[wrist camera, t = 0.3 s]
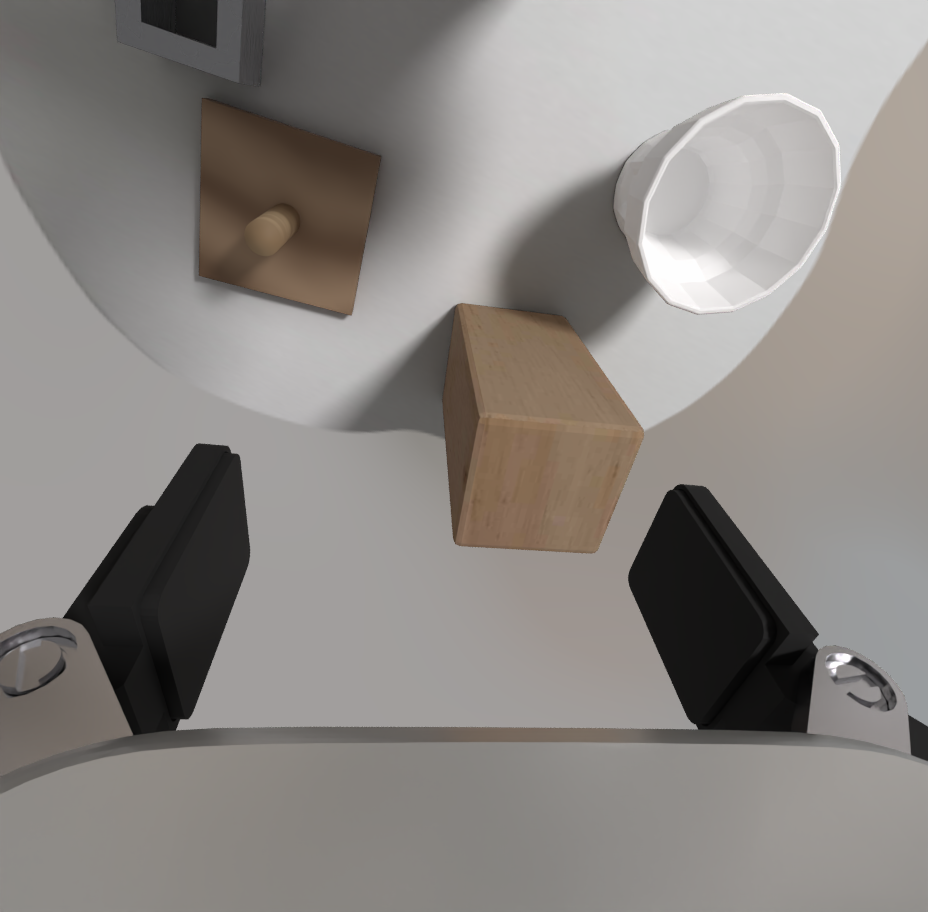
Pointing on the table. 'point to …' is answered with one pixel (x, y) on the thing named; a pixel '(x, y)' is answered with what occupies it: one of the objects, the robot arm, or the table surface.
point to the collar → (238, 40)
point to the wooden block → (531, 434)
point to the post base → (283, 177)
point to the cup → (729, 201)
